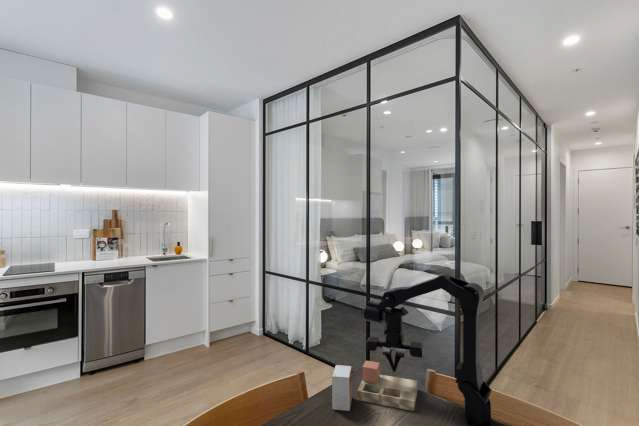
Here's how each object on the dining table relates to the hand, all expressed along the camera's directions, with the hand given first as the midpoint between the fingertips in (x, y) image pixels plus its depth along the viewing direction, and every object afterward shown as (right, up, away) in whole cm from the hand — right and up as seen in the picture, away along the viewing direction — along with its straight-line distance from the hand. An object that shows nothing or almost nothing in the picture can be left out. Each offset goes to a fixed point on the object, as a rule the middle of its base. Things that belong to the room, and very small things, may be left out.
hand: (394, 371), depth 111 cm
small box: (-18, -7, -6) cm, 21 cm away
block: (-8, -4, +3) cm, 9 cm away
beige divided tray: (-3, -7, -2) cm, 8 cm away
